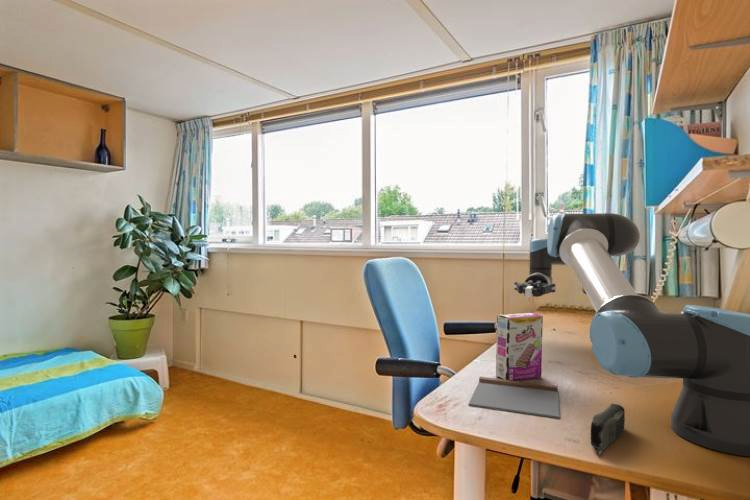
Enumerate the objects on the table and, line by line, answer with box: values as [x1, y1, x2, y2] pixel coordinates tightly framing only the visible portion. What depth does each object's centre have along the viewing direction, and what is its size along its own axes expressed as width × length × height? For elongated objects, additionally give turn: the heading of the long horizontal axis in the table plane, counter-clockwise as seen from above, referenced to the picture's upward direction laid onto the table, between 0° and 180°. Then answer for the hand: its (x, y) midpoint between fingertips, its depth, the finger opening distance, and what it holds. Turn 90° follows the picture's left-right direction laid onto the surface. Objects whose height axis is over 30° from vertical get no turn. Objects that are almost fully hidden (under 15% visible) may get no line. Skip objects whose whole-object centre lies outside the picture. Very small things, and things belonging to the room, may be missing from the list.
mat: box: [468, 381, 560, 420], centre depth 95 cm, size 15×18×1 cm
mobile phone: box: [590, 403, 626, 456], centre depth 76 cm, size 5×3×15 cm
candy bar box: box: [495, 312, 544, 381], centre depth 109 cm, size 11×5×16 cm, turn 111°
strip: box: [478, 376, 559, 393], centre depth 103 cm, size 2×18×1 cm, turn 68°
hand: (527, 293), depth 124 cm, fingers closed
